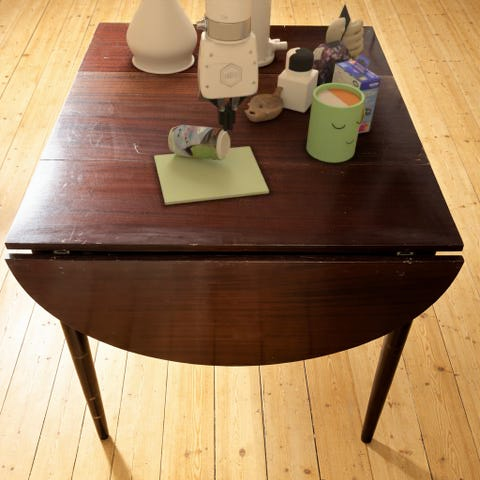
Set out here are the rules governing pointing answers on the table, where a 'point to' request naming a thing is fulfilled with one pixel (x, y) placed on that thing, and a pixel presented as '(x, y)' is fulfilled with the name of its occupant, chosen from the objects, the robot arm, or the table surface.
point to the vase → (161, 37)
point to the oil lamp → (265, 106)
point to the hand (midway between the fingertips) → (226, 127)
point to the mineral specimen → (329, 59)
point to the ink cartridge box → (359, 85)
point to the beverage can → (199, 142)
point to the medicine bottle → (298, 80)
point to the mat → (209, 177)
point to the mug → (335, 121)
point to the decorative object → (347, 33)
